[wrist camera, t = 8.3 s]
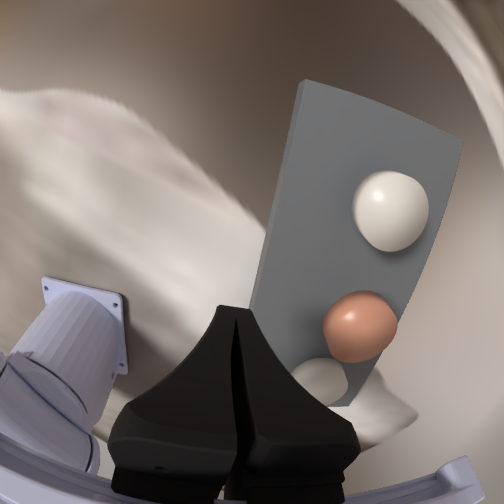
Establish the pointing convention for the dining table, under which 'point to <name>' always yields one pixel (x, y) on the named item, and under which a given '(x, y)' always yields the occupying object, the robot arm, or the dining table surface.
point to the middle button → (359, 326)
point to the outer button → (389, 209)
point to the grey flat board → (342, 219)
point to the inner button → (322, 379)
